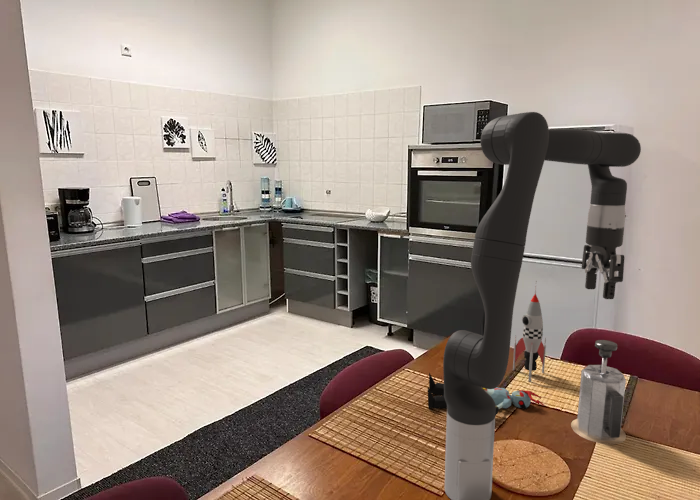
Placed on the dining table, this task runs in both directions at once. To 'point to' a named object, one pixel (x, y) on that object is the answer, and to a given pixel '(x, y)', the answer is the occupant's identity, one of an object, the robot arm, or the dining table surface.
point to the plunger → (605, 351)
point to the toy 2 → (531, 338)
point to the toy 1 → (498, 394)
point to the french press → (601, 403)
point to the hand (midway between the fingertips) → (599, 293)
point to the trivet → (618, 440)
